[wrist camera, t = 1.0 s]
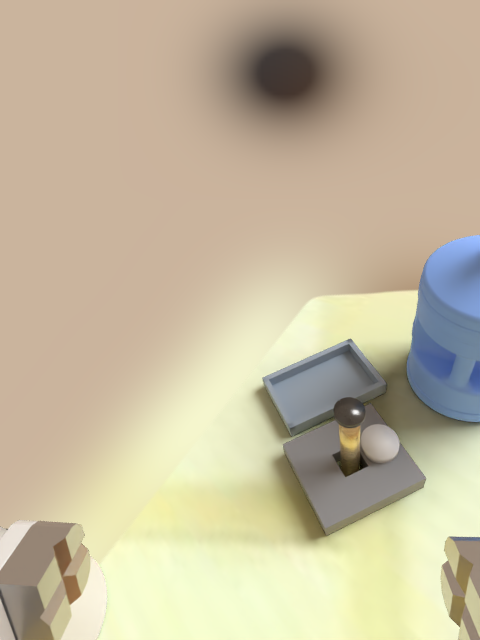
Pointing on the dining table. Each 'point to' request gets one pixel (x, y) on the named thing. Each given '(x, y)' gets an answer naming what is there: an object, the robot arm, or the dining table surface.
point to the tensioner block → (361, 487)
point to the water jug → (448, 332)
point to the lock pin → (349, 432)
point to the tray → (322, 385)
